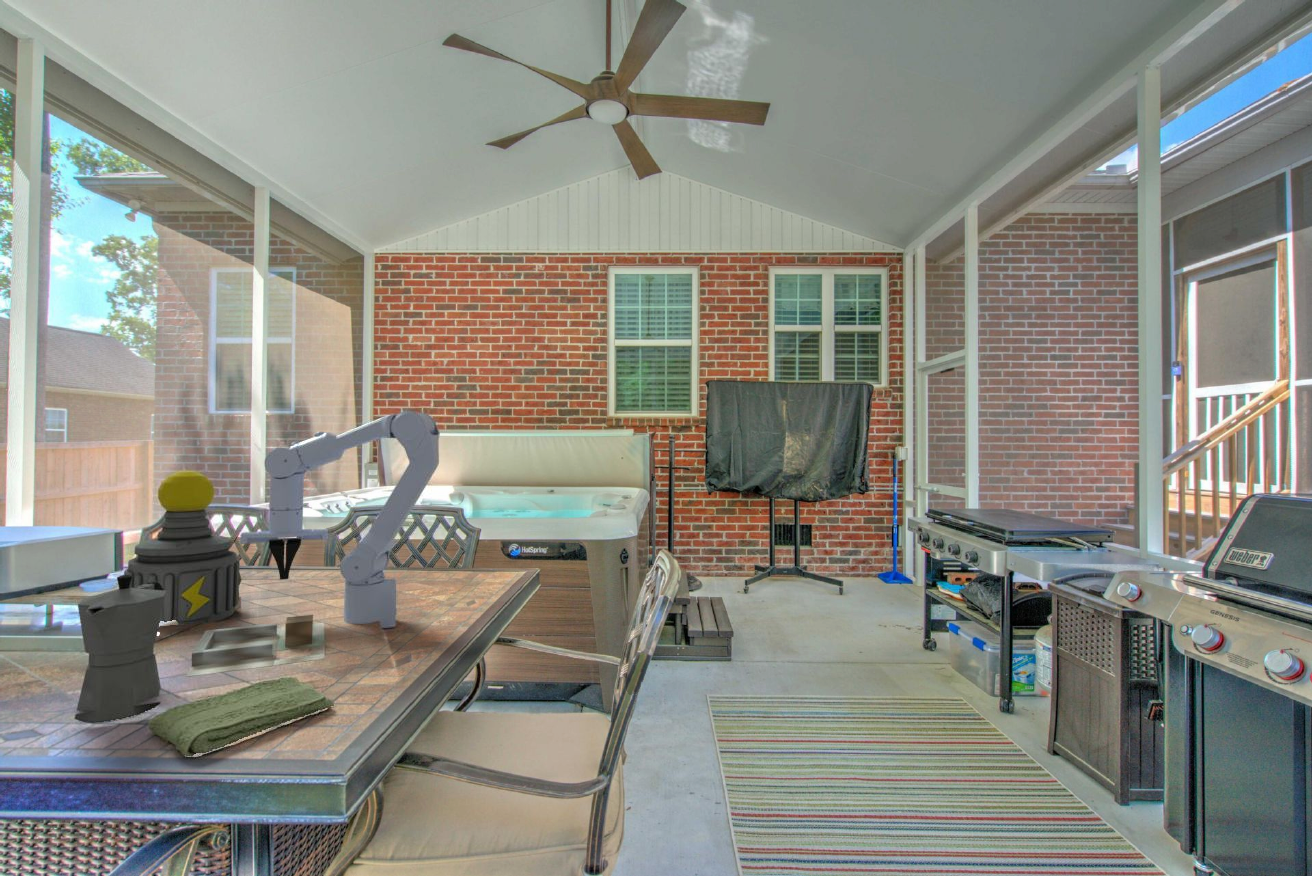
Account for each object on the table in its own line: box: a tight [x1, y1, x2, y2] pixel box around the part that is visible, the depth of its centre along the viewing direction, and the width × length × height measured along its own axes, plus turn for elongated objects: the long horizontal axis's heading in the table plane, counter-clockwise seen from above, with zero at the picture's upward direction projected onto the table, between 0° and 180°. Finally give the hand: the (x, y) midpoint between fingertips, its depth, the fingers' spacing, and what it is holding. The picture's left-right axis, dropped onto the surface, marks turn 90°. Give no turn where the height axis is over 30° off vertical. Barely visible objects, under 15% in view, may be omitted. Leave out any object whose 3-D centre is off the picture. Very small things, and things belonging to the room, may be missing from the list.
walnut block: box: [285, 614, 314, 647], centre depth 107 cm, size 4×4×4 cm
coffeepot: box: [74, 574, 166, 724], centre depth 84 cm, size 15×9×18 cm, turn 13°
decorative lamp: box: [123, 470, 242, 627], centre depth 124 cm, size 19×19×30 cm
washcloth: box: [148, 676, 335, 756], centre depth 80 cm, size 13×18×3 cm
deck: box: [185, 622, 326, 678], centre depth 104 cm, size 18×22×4 cm
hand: (284, 578), depth 120 cm, fingers closed
